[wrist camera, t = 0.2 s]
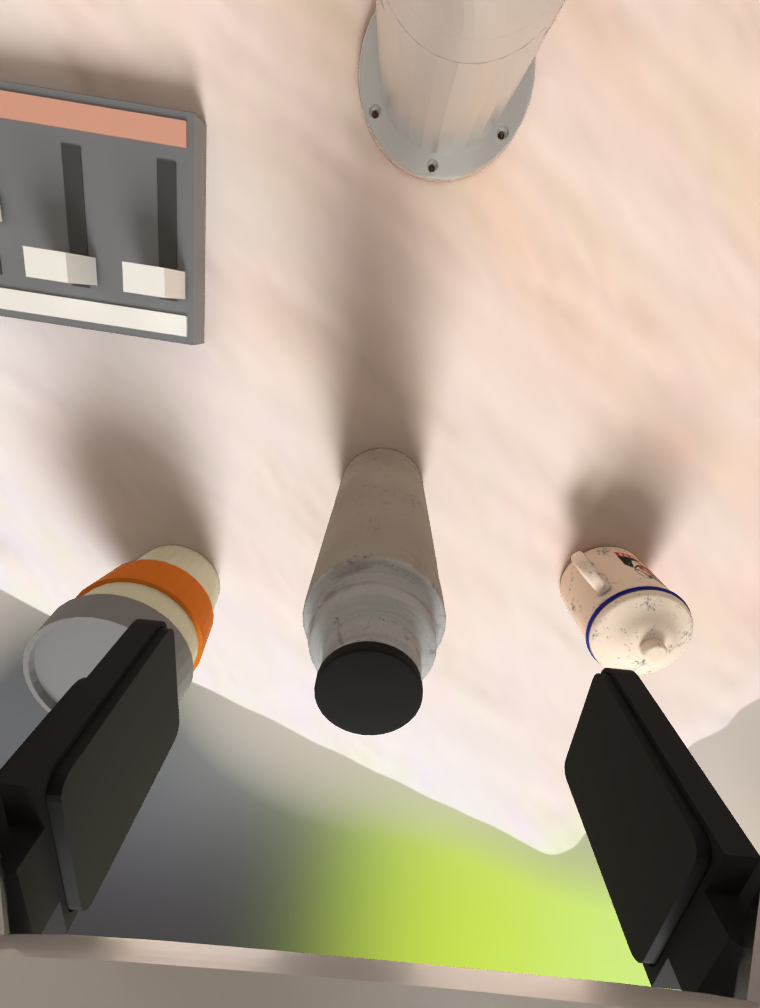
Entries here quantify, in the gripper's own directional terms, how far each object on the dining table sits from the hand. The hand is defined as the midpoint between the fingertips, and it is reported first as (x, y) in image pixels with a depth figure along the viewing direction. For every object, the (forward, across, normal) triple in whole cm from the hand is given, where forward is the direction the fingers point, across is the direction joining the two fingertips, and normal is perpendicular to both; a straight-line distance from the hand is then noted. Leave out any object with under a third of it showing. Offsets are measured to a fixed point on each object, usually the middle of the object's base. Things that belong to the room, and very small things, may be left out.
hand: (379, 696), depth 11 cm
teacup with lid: (+37, -23, +15) cm, 46 cm away
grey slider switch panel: (+36, +29, -12) cm, 48 cm away
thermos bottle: (+37, 0, +8) cm, 38 cm away
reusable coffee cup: (+37, +20, +21) cm, 47 cm away
